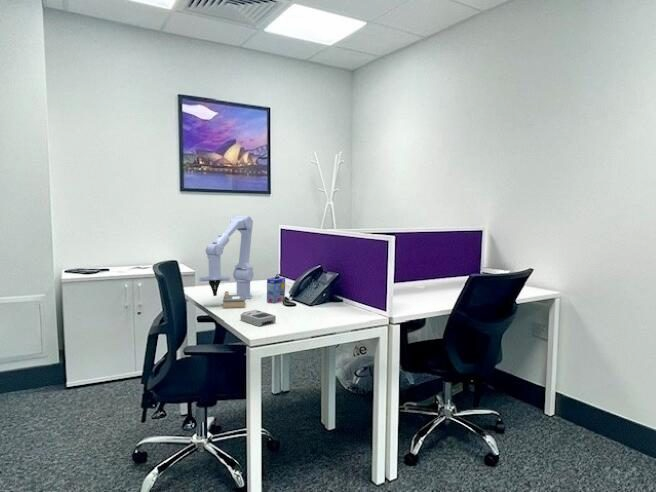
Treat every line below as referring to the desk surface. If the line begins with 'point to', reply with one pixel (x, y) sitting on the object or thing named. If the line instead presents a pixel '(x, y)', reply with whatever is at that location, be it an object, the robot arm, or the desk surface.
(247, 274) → the robot arm
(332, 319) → the desk surface
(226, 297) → the lid
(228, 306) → the kraft box
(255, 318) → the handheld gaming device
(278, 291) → the ink cartridge box
